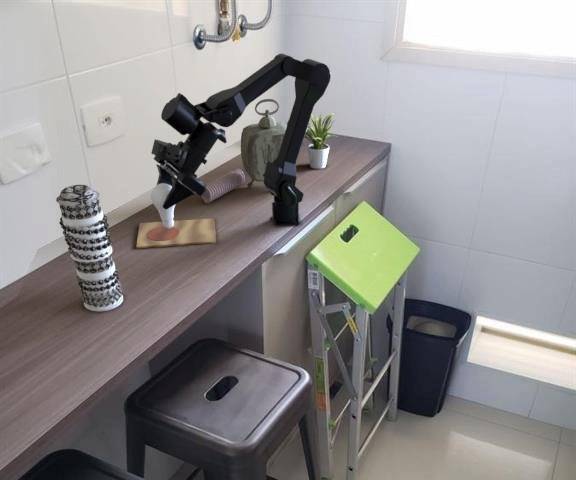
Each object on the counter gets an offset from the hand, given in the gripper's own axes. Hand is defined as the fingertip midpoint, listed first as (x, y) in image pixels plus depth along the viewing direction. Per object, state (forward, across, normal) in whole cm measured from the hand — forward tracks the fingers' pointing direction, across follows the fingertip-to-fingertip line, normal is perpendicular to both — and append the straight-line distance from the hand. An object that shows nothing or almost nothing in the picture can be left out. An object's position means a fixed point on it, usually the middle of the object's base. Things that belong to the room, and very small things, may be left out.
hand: (159, 203), depth 139 cm
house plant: (-36, -32, +55) cm, 73 cm away
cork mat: (+5, -8, +13) cm, 16 cm away
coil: (-11, -26, +29) cm, 40 cm away
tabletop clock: (-20, -22, +38) cm, 48 cm away
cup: (-40, -53, +58) cm, 88 cm away
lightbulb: (+4, 0, +6) cm, 7 cm away
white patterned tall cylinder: (+23, +15, -6) cm, 28 cm away
